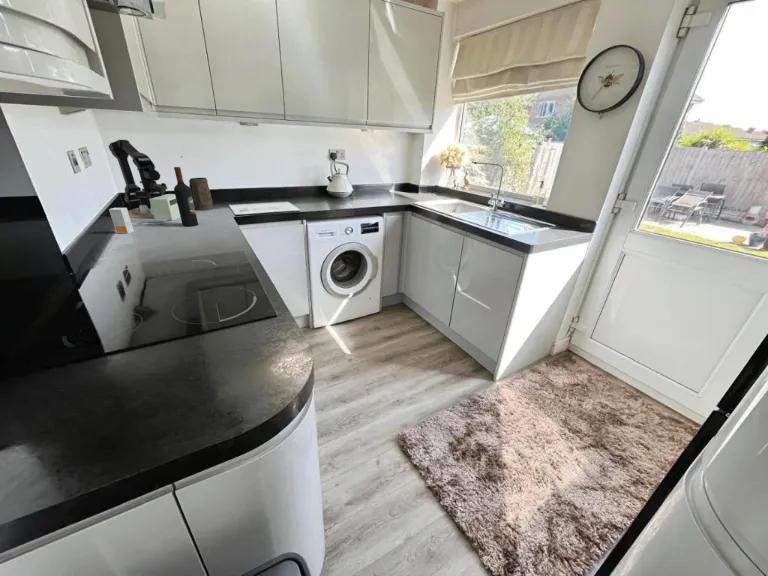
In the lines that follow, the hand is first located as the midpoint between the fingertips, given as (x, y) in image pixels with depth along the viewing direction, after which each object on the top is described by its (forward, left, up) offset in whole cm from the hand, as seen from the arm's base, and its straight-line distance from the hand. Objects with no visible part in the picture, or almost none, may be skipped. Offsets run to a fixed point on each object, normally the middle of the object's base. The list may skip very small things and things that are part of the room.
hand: (154, 206), depth 190 cm
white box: (0, 0, -5) cm, 5 cm away
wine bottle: (+18, +28, -6) cm, 34 cm away
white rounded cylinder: (-3, -8, -5) cm, 10 cm away
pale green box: (0, +8, -6) cm, 10 cm away
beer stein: (-26, +14, -6) cm, 30 cm away
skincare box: (+34, +4, -6) cm, 35 cm away
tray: (0, -5, -6) cm, 8 cm away
